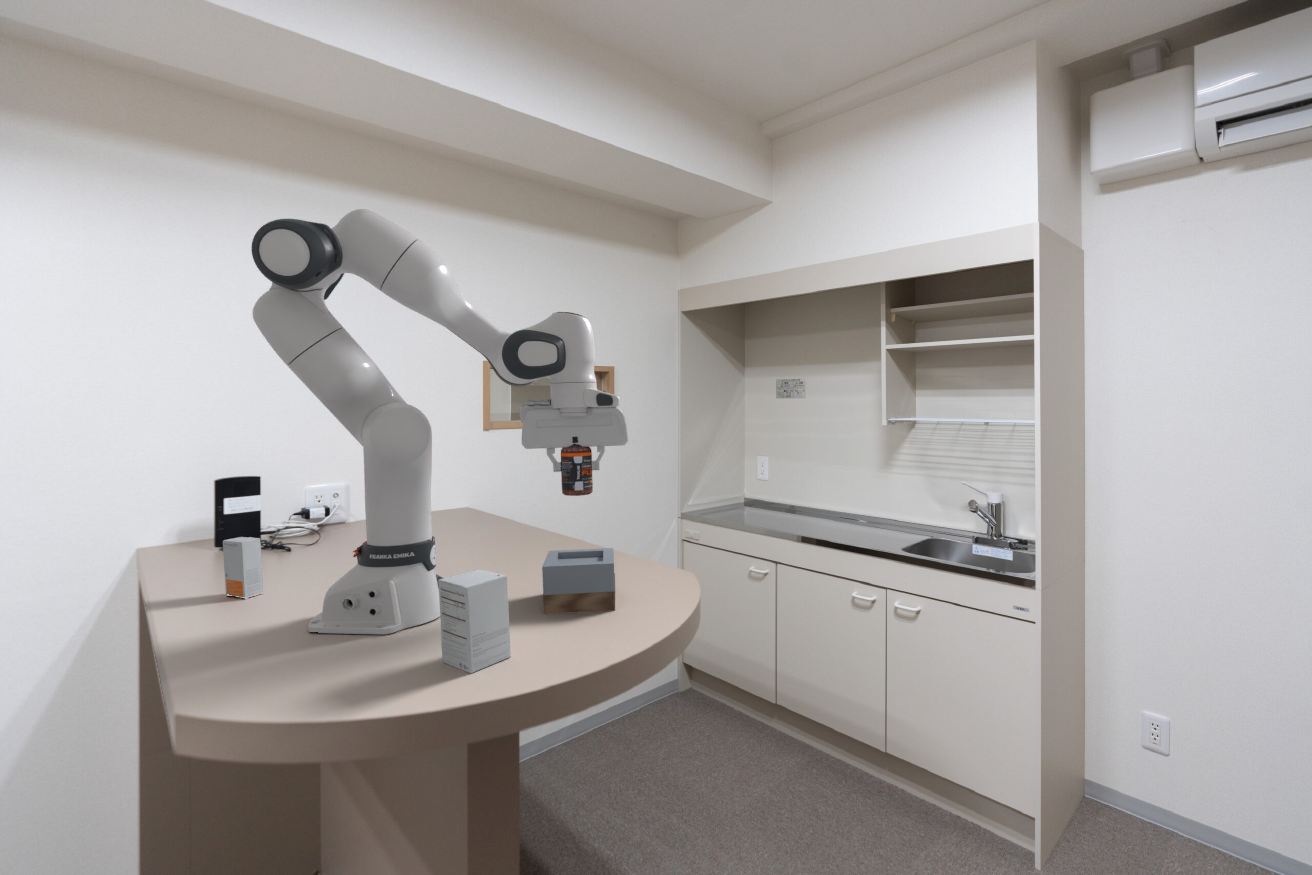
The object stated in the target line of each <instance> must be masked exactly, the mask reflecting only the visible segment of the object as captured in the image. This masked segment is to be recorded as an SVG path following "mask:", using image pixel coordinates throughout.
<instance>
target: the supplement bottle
mask: <svg viewBox="0 0 1312 875" xmlns="http://www.w3.org/2000/svg"><path fill="white" fill-rule="evenodd" d="M572 443H578V437H576V436H575V437H572ZM592 461H593V453H592V447H582V446H581V445H579V444H573V445H571V446H569V447H566V448H560V462H561V472H560V473H561V493H562V495H564V496H569V497H570V496H571V497H572V496H574V497H575V496H576V497H581V496H586V495H587V496H588V495H591V494H592V493H593V492H594V491H593V488H594V487H593V486H594V483H593V470H592Z"/></svg>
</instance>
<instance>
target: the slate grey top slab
mask: <svg viewBox="0 0 1312 875" xmlns="http://www.w3.org/2000/svg"><path fill="white" fill-rule="evenodd" d="M547 552H548V553H547V555H546V557H545V559H544V561H543V564H542V568H541V572H542V596H543V595H554V594H574V593H593V592H613V591H615V592H616V579H615V580H614V573H615V556H614V555H615V554H614V547H604V548H600V547H599V548H584V549H582V548H581V549H562V550H561V549H558V550H557V549H556V550H548V551H547Z"/></svg>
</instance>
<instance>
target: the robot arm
mask: <svg viewBox="0 0 1312 875" xmlns="http://www.w3.org/2000/svg"><path fill="white" fill-rule="evenodd" d="M251 241H252V242H251V256H252V259H253V262H254V265H255V266H256V267H257V269H258V271H259V272H260V273H261V274H262V275H263V276H264V277H265V278H266V279H267V280H269V281H270V282H271V283H272V284H271V286H270V288H269V289H268V290H267V291H266V292H264V293H262V295H261V296H260V297H259V298H257V300H256V302H255V303H254V306H253V309H252V318H253V321H254V323H255V325H256V327H257V328H258V330H259V331H260V333H261V334H262V336H263V338H264V339H265V340H266V342H267V343H268V345H270V347H271V348H272V350H273V351H274V352H275V353H276V355H277V357H279V358H280V359H281V361H282V362H283V363H284V364H285V365H286V366H287V367H288V368H289V369H290V370H291V371H292V372H293V374H294V375H295V376H296V377H297V378H298V379H299V380H300V381H301V382H302V383H303V384H304V385H305V387H306V388H307V389H308V390H310V392H311V393H312V394H313V395H314V396H315V397H316V398H317V400H319V401H320V403H321V404H322V405H323V406H324V407H325V408H326V409H327V410H328V411H329V413H331V414H332V415H333V417H335V419H336V420H337V421H338V422H339V423H340V424H341V425H342V426H343V427H344V428H345V429H346V431H348V432H349V433H350V435H351V436H352V437H353V438H354V439H355V440H356V441H357V442H358V443H359V444H360V445H361V446H362V451H363V474H364V478H363V479H364V480H363V482H364V508H365V509H364V510H365V511H364V512H365V513H364V514H365V526H366V527H365V528H366V529H365V530H366V532H365V534H366V540H365V541H363V543H362V544H361V545H359V546H358V547H357V548H356V549H355V550H353V551H352V553H354V554H353V555H352V558H356V561H357V564H356V565H354V566H353V567H352V568H351V569H349V570H348V572H346V573H345V574H344V575H343V576H341V577H340V578H339V579H338V580H337V581H336V582H334V583H333V584H331V586H330V587H329V588H328V589H327V591H326V592H325V594H324V598H323V603H322V610H321V611H322V612H320V613H319V614H316V616H314V617H313V618H311V620H310V621H309V623H308V626H307V627H308V629H307V630H309V631H308V632H309V633H310V632H318V633H317V634H343V635H344V634H351V635H353V634H356V635H389V634H392V633H393V634H394V633H395V632H399V631H402V630H404V629H407V628H412V627H416V626H420V625H422V624H426V623H429V622H432V621H434V620H436V619H438V618H440V601H439V583H438V580H437V573H436V566H437V545H436V538H435V536H434V535H433V523H432V522H433V521H432V520H433V519H432V500H431V491H432V469H433V467H432V466H433V464H432V463H433V446H432V445H433V432H432V426H431V423H430V421H429V419H428V417H427V416H426V415H425V414H424V412H423V411H421V410H420V409H419V408H417V407H415V405H412V404H409V403H407V402H406V401H405V399H404V398H403V397H402V396H401V395H400V394H399V392H398V391H397V390H396V388H395V387H394V386H393V384H392V383H391V382H390V381H389V379H387V377H386V376H385V375H384V373H383V372H382V371H381V369H380V368H379V367H378V365H377V364H376V363H375V361H373V359H372V358H371V357H370V356H369V355H368V354H367V352H366V351H365V349H363V348H362V347H361V345H360V344H359V343H358V342H357V341H356V339H354V337H352V335H351V334H350V333H349V332H348V330H347V329H346V328H344V326H343V325H342V324H341V323H340V322H339V321H338V320H337V318H336V317H335V316H334V315H333V314H332V313H331V311H330V310H329V308H328V306H327V305H326V302H325V301H326V300H327V299H328V298H329V297H330V295H331V294H332V293H333V291H334V290H335V288H336V287H337V286H338V284H339V283H340V282H341V281H342V279H343V277H344V275H345V274H351V275H355V276H357V277H359V278H361V279H363V280H364V281H366V282H367V283H369V284H370V285H372V286H373V287H375V288H376V289H377V290H378V291H381V293H383V294H385V295H386V296H387V297H389V298H390V299H392V300H393V301H395V302H397V303H399V304H400V305H401V306H404V307H406V308H408V309H410V310H411V311H413V312H416V313H417V314H419V315H421V316H423V317H426V318H427V319H428V320H432V321H433V322H435V323H437V324H439V325H441V326H442V327H444V328H446V329H447V330H448V331H450V332H451V333H453V334H454V335H456V336H457V337H458V338H460V340H462V341H463V342H465V344H467V345H469V346H470V347H471V348H472V349H474V350H475V351H477V352H478V353H479V354H480V355H482V356H483V357H484V358H485V359H486V360H487V362H488V364H489V365H490V367H491V369H493V371H494V373H495V375H496V376H497V377H498V378H499V380H501V381H502V382H503V383H505V384H507V385H509V386H512V387H517V388H518V387H526V386H529V385H531V384H533V383H534V382H536V381H538V380H540V379H548V380H549V383H550V384H549V388H550V389H549V390H550V399H537V400H533V399H530V400H529V399H528V400H527V401H526V402H524V403H523V404H521V406H520V407H519V420H520V421H521V423H522V427H521V445H522V446H523V448H524V449H526V450H532V449H546V455H547V457H548V458H549V460H550V461H551V463H552V471H553V473H559V472H560V473H561V461H557V459H556V457H555V456H554V454H555V453H556V449H558V448H560V449H562V448H566V447H569V446H571V445H573V444H579V445H581V446H582V447H590V448H593V447H596V449H597V450H596V452H597V453H599V454H598V455H597V458H596V460H592V471H601V470H600V469H601V467H600V461H601V460H602V457H603V456H604V454H605V452H606V450H605V448H606V447H615V446H616V447H618V446H620V447H621V446H626V445H627V443H628V442H629V435H628V434H629V433H628V426H627V421H626V416H625V414H624V412H623V411H622V409H621V408H619V407H620V405H621V398H620V396H619V395H616V394H614V393H609V392H608V391H605V390H599V389H598V387H597V386H598V385H597V383H598V382H597V378H596V374H595V364H596V360H597V358H596V343H595V341H596V340H595V336H594V330H593V326H592V323H591V321H590V320H589V318H587V317H585V316H583V315H581V314H579V313H575V312H569V311H557V312H553V313H552V314H551V315H549V316H548V317H547V318H545V319H544V320H542V321H540V322H538V323H535V324H534V325H532V326H529V327H526V328H522V329H519V330H515V331H514V332H512V333H510V332H508V331H506V330H504V329H503V328H501V327H500V326H498V325H497V324H496V323H495V322H493V321H492V320H490V319H489V318H488V317H487V316H485V315H484V314H483V313H482V312H480V311H479V310H478V309H477V308H476V307H474V306H473V305H471V304H470V302H469V301H468V300H467V299H466V298H465V296H464V295H463V294H462V291H461V290H460V288H459V287H458V284H457V281H456V279H455V277H454V274H453V271H452V270H451V268H450V266H449V265H448V264H447V263H446V262H445V261H444V260H443V259H442V258H441V257H440V256H439V255H438V254H437V253H436V252H435V251H434V250H433V249H432V248H430V247H429V246H428V245H427V244H425V243H424V242H423V241H422V240H420V239H419V238H417V237H416V236H414V235H413V234H412V233H411V232H409V231H407V230H406V229H404V228H403V227H401V226H399V225H398V224H396V223H394V222H393V221H391V220H389V219H388V218H386V217H385V216H382V215H381V214H378V213H376V212H374V211H372V210H369V209H365V208H358V209H354V210H351V211H350V212H348V213H346V214H345V215H343V217H341V218H340V219H339V221H337V224H336V225H335V226H333V227H332V228H331V227H330V226H329V225H328V224H326V223H322V222H314V221H307V220H303V219H298V218H297V219H296V218H279V219H275V220H271V221H268V222H266V223H265V224H263V225H262V226H260V228H259V229H258V230H257V231H256V233H255V234H254V235H253V239H252V240H251ZM526 405H527V406H526ZM575 436H576V437H578V443H572V437H575Z"/></svg>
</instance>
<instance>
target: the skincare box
mask: <svg viewBox="0 0 1312 875" xmlns="http://www.w3.org/2000/svg"><path fill="white" fill-rule="evenodd" d="M261 546H262V545H261V538H260V537H252V536H249V537H246V536H245V537H244V536H238V537H234V538H228V539H224V540H222V551H223V553H222V554H223V565H224V566H223V569H224V583H225V584H224V585H225V588H224V589H225V595H226V594H229V595H232V596H239V597H248V596H251V595H254V594H257V593H261V592H263V593H264V583H263V582H264V580H263V579H264V578H263V566H262V547H261Z"/></svg>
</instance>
